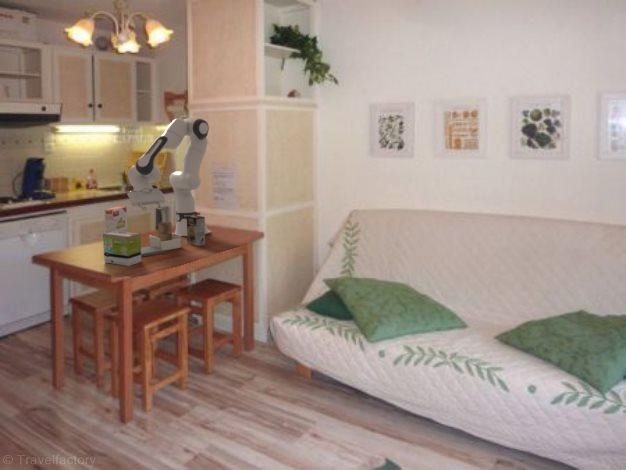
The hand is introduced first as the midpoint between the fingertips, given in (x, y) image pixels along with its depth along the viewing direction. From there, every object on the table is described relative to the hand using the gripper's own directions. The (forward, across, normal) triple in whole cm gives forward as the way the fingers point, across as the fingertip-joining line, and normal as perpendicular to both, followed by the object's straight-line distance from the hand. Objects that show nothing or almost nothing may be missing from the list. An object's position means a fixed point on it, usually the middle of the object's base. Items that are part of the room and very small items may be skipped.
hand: (152, 209), depth 311 cm
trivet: (+26, -15, +3) cm, 30 cm away
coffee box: (+25, +18, +3) cm, 31 cm away
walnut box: (+23, 0, +5) cm, 24 cm away
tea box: (+34, -33, -6) cm, 48 cm away
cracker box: (+5, -15, +24) cm, 29 cm away
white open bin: (+23, 0, +5) cm, 24 cm away
